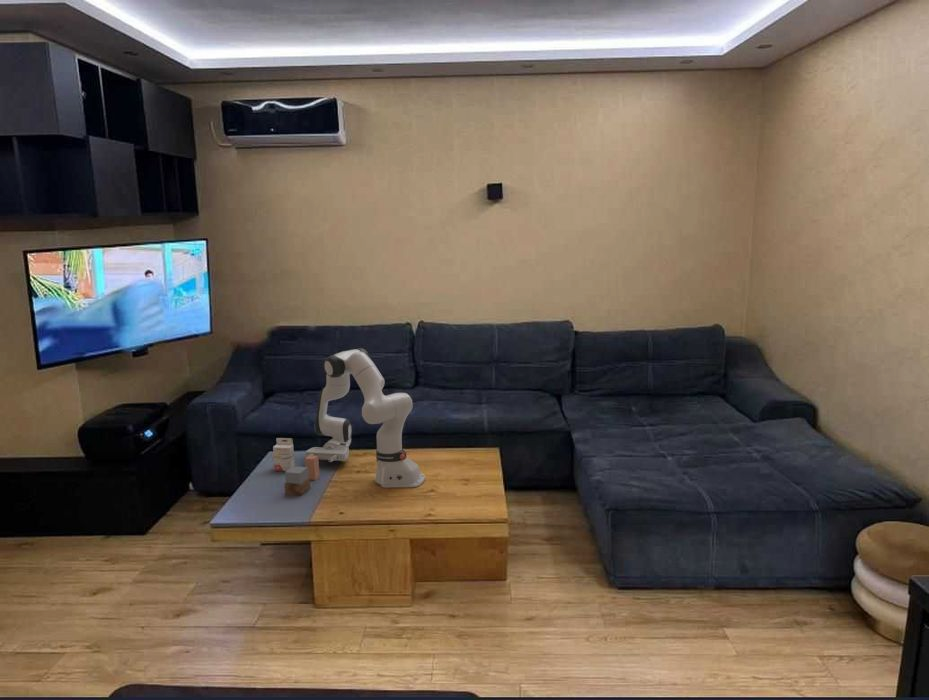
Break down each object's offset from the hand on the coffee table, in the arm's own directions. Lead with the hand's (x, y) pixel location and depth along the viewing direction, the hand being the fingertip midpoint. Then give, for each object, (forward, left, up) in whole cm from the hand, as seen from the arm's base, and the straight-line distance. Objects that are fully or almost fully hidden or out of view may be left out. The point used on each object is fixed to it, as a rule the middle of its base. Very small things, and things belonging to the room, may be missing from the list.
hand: (320, 459), depth 312 cm
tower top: (0, +24, -1) cm, 24 cm away
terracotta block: (0, +9, -6) cm, 10 cm away
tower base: (0, +24, -6) cm, 24 cm away
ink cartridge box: (+18, +1, -6) cm, 19 cm away
